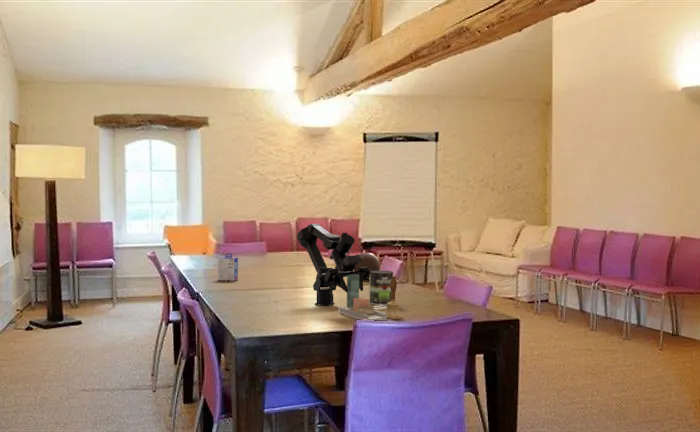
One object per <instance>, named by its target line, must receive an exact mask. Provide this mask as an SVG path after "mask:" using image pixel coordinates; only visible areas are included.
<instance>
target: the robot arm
mask: <svg viewBox="0 0 700 432" xmlns="http://www.w3.org/2000/svg"><path fill="white" fill-rule="evenodd" d="M296 240H297V241H298V243H299V244H300V246H301V247H303V248H304V249H305V250H306V251H307V254H308V255H309V258H310V260H311V263H312V264H313V266H314V269H315V272H316V277H315V282H314V283H313V285H312V287H313V291H315V292H316V302H315V303H314V305H315V306H324V307H328V306H332V305H335V302H334V293H333V291H336V290H337V287H339V288H340V289H341V290H343V292H346V293H347V292H348V288H347V283H346V282H345V279H344V278H347V275H350V274H356V275H359V291H361V292H363V291H364V281H366V280H365V279H366V278H367V276H368V275H369V273H370V272H371V271H370V269H369V267H360V268H359V269H358V271H354V269H355V265H356V264H359V263H360V262H361V261H362V259H361V256H360V254H355V255H348V253H349V252H350V251H351V249H353V248H352V247H353V245H354V244H355V242H356V241H355V238H354V237H353V236H352V235H351V234H348V233H347V232H342V233H341V235H339V234H333V233H331V232H330V231H328V230H327V229H326V228H324V227H322V226H321V224H319V223H310V224H308V225H307V226H306V227H304V228H302V229H300V230H299V231H298V232H297V234H296ZM318 240H320V241H322V246H323V247H324V248H325V250H327V251H332V252H331V254H330V255H329V259H330V260H333V262H334V264H335V267H334V268H333V267H328V266H327V264H326V262H325V260H324V258H323V256H322V254H321V251H320V248H319V247H318V245H317V242H318Z"/></svg>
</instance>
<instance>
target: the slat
mask: <svg viewBox="0 0 700 432" xmlns="http://www.w3.org/2000/svg"><path fill="white" fill-rule="evenodd" d="M346 279H347V281H346V286H347V288H348V292H346V306H345V307H343V308H346V309H349V310H353V311H356V312H359V313H362V314H366V315H367V314H374V306H375V305H371V304H369V306H358V311H357V310H354V309H353V298H360V289H359V275H356V274H350V275H347V277H346Z"/></svg>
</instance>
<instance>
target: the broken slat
mask: <svg viewBox="0 0 700 432" xmlns="http://www.w3.org/2000/svg"><path fill="white" fill-rule="evenodd" d="M373 306H374V309H375V311H379V312H385V311H386V307H382V306H379V305H373Z"/></svg>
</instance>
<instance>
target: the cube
mask: <svg viewBox="0 0 700 432" xmlns="http://www.w3.org/2000/svg"><path fill="white" fill-rule="evenodd" d="M358 306H370V304H369V297H364V296H362V297H360V296H359V298H353V309H354V310H357V311H358Z"/></svg>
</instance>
